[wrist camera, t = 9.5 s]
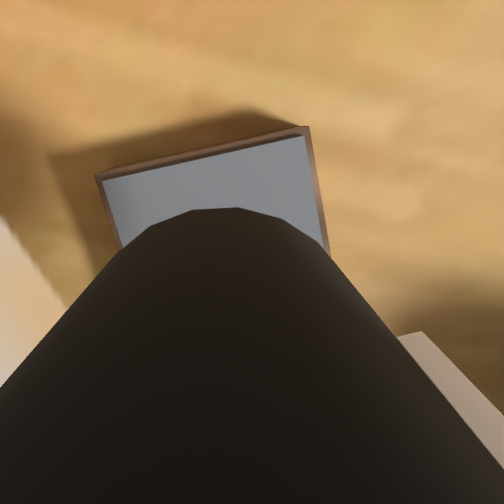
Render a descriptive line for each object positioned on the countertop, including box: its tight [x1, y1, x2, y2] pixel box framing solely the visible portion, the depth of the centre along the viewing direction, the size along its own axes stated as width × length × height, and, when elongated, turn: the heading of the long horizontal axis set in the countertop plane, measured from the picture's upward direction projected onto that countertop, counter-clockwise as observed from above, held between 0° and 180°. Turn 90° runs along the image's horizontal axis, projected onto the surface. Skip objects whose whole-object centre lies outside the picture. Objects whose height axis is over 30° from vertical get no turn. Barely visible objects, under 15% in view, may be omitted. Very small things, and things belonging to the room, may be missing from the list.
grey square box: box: [94, 126, 331, 257], centre depth 30 cm, size 14×14×4 cm
